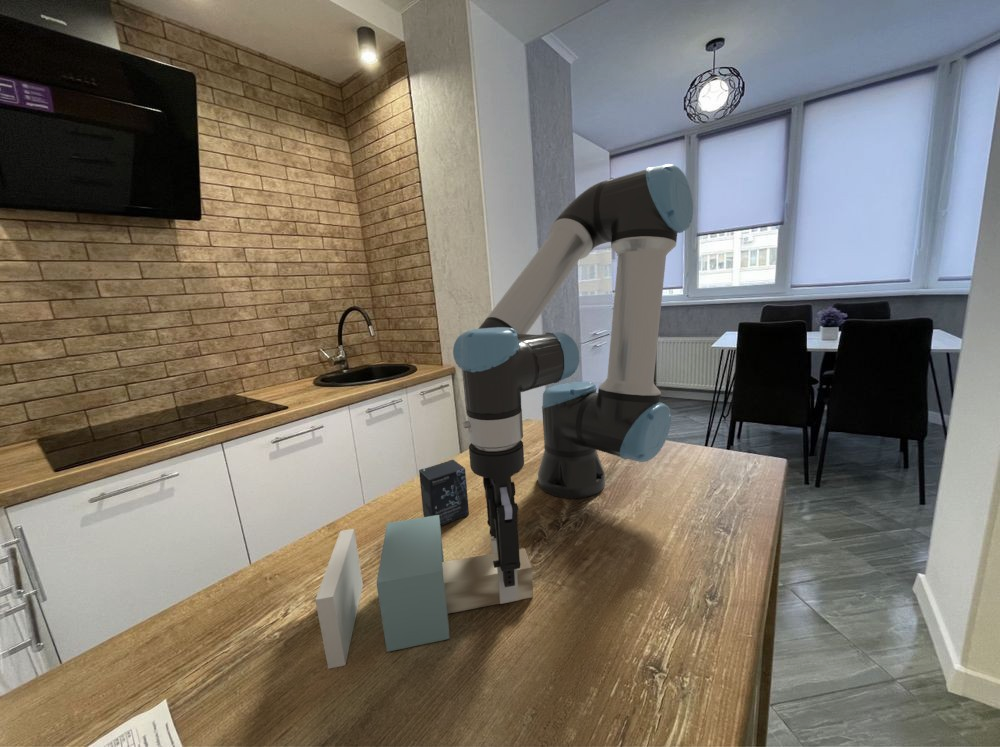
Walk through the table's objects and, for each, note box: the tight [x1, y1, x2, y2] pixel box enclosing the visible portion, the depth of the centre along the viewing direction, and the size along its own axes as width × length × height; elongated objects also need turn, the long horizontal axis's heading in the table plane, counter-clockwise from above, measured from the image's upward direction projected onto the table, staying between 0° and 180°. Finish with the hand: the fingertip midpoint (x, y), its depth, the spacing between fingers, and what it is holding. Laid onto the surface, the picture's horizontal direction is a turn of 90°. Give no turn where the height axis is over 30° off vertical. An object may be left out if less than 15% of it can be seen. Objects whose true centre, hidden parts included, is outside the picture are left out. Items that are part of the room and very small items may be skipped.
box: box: [418, 459, 470, 527], centre depth 79 cm, size 8×6×11 cm
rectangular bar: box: [442, 547, 534, 614], centre depth 58 cm, size 16×4×5 cm, turn 101°
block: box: [376, 515, 451, 653], centre depth 56 cm, size 8×13×10 cm, turn 10°
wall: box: [314, 528, 364, 670], centre depth 54 cm, size 2×14×10 cm, turn 10°
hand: (505, 587), depth 59 cm, fingers closed on rectangular bar, 4 cm apart
